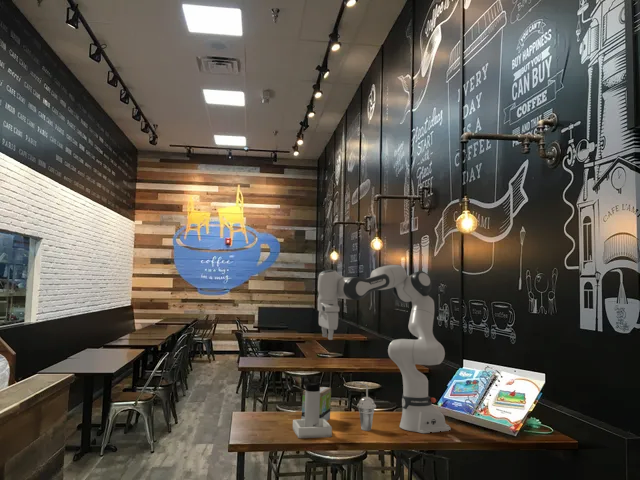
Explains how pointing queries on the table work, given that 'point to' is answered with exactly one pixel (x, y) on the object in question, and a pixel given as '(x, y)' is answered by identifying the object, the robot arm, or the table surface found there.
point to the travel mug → (312, 404)
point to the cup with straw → (366, 410)
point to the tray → (312, 429)
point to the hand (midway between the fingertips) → (327, 338)
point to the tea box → (321, 403)
